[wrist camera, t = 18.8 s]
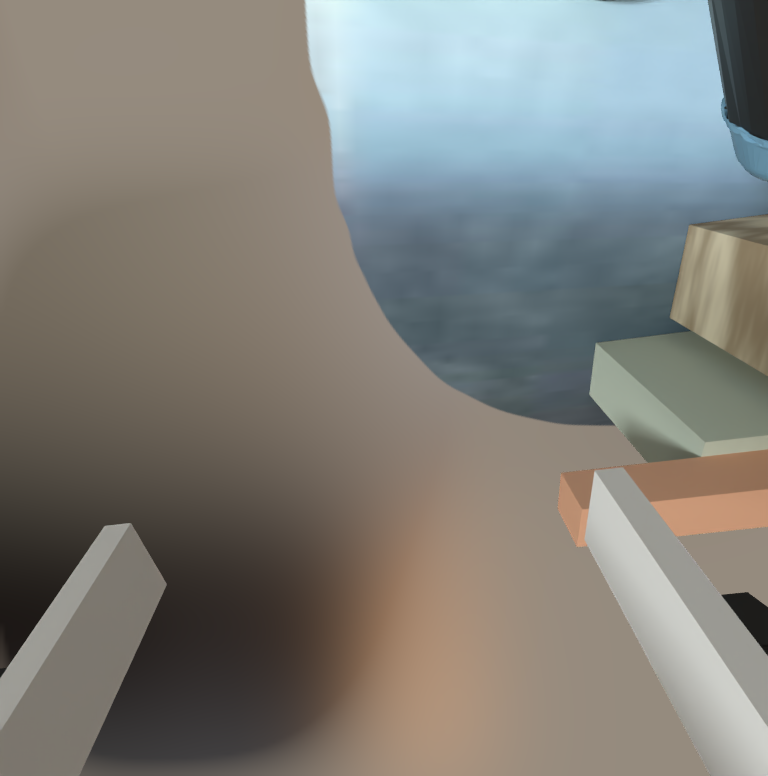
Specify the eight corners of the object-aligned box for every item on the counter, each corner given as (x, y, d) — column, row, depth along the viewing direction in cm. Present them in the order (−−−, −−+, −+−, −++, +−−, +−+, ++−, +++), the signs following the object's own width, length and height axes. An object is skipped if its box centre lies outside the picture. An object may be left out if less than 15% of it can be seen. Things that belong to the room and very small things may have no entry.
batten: (557, 508, 37) (576, 546, 34) (561, 472, 35) (582, 509, 32) (900, 470, 36) (956, 506, 32) (923, 431, 34) (986, 464, 30)
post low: (589, 394, 54) (685, 507, 37) (596, 343, 50) (705, 442, 34) (705, 380, 53) (854, 489, 37) (719, 327, 50) (892, 420, 33)
